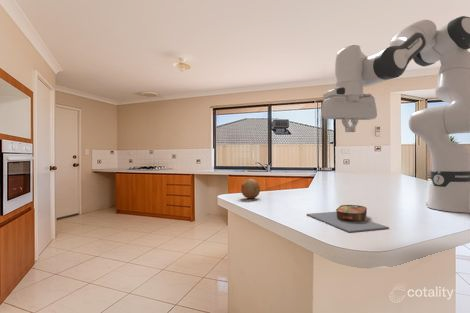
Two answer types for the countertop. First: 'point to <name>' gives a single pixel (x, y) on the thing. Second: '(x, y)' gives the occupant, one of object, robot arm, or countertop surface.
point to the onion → (250, 188)
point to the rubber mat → (347, 222)
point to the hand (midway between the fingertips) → (350, 132)
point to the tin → (351, 212)
